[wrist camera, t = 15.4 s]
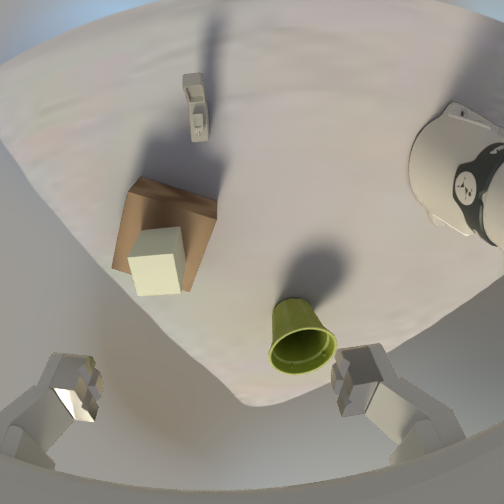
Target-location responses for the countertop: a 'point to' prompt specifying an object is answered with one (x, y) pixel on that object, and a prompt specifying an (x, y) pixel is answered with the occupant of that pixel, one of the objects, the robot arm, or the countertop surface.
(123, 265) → the walnut block
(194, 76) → the lighter
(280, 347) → the plant pot
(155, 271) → the sage block
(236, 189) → the countertop surface
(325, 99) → the countertop surface
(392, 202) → the countertop surface
